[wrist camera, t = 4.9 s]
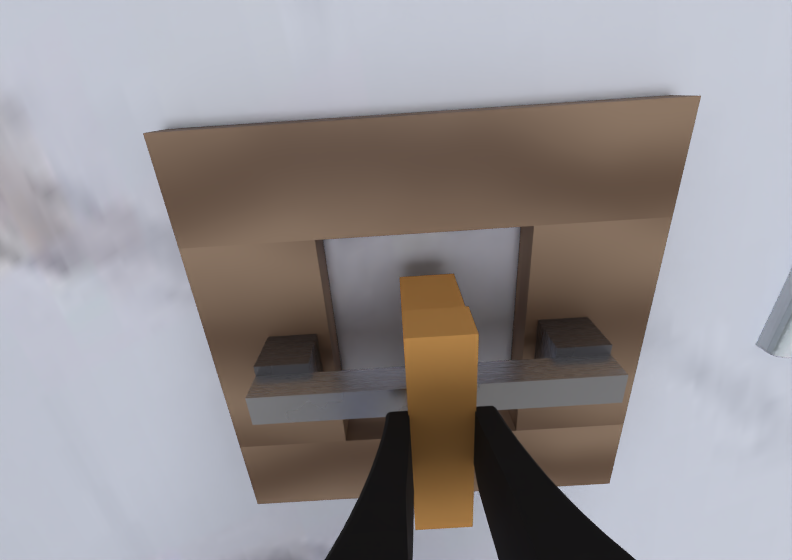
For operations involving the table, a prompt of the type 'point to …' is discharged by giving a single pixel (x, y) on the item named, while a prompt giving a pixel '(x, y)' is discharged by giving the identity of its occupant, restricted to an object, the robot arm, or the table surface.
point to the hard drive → (779, 325)
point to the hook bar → (386, 387)
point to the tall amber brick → (440, 398)
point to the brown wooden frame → (424, 213)
